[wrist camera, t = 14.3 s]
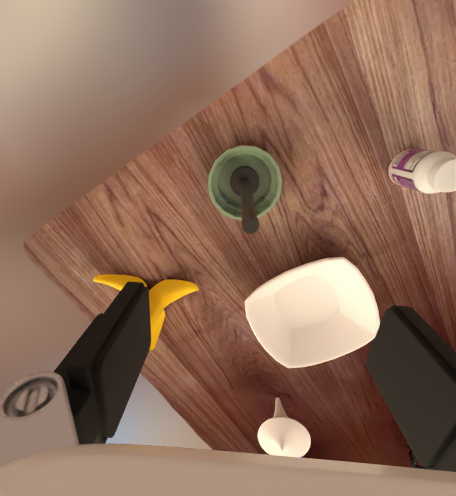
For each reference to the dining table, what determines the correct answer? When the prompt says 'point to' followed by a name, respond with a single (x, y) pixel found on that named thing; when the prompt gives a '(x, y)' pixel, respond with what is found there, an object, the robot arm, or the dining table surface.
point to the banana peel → (153, 296)
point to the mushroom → (283, 435)
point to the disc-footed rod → (246, 196)
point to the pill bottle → (424, 170)
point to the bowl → (314, 313)
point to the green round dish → (265, 170)
